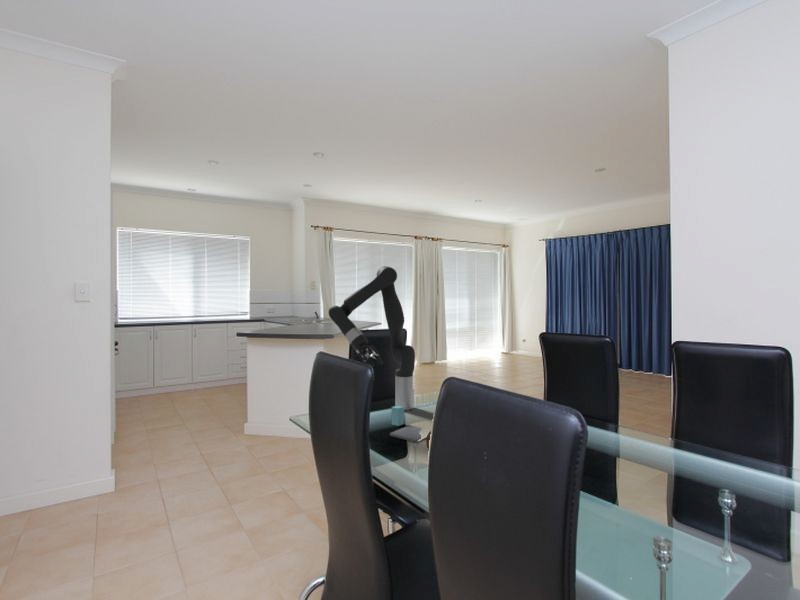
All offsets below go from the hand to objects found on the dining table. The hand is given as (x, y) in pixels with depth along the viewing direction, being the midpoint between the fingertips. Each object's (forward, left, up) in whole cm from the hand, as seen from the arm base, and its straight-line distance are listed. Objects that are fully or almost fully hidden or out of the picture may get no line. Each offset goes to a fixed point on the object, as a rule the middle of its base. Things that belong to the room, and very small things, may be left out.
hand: (377, 364), depth 194 cm
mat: (+4, +24, -27) cm, 36 cm away
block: (-3, +10, -27) cm, 29 cm away
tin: (+10, +42, -27) cm, 51 cm away
